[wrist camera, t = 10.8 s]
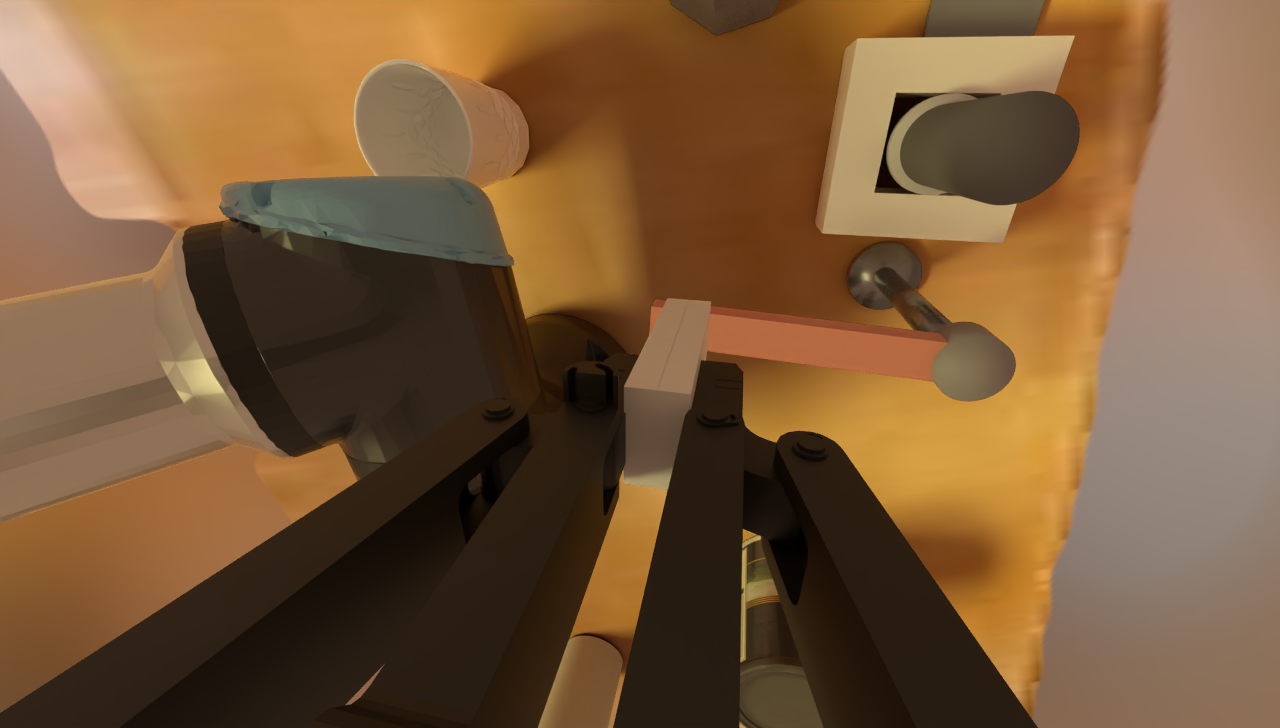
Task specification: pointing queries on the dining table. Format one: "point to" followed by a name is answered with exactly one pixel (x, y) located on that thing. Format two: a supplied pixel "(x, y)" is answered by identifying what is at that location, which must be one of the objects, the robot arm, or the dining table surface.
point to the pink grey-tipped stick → (867, 348)
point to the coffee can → (769, 654)
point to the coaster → (982, 18)
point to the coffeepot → (726, 12)
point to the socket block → (920, 73)
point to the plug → (982, 146)
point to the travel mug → (583, 685)
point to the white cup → (437, 125)
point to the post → (893, 284)
